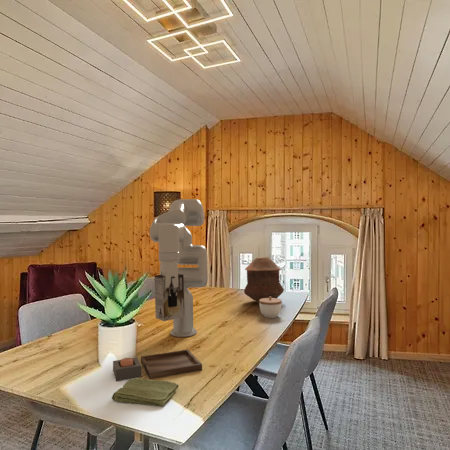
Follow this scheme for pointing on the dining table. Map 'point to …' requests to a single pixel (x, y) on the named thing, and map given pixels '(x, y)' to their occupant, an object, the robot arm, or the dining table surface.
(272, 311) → the lidded bowl
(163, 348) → the dining table surface
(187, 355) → the tray
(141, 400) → the washcloth
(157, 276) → the coffee box
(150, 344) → the dining table surface
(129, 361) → the button cap
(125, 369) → the button housing
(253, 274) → the pottery vessel
